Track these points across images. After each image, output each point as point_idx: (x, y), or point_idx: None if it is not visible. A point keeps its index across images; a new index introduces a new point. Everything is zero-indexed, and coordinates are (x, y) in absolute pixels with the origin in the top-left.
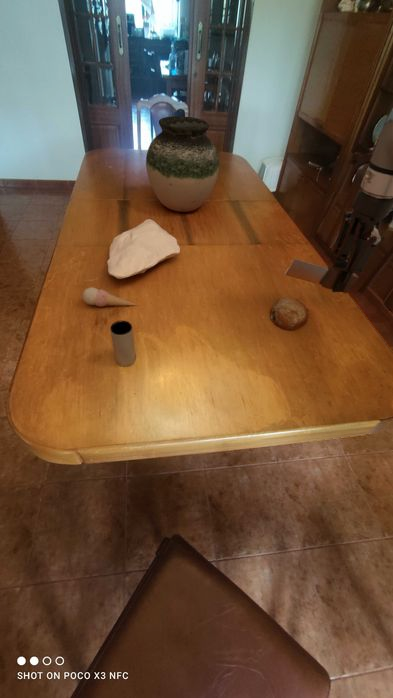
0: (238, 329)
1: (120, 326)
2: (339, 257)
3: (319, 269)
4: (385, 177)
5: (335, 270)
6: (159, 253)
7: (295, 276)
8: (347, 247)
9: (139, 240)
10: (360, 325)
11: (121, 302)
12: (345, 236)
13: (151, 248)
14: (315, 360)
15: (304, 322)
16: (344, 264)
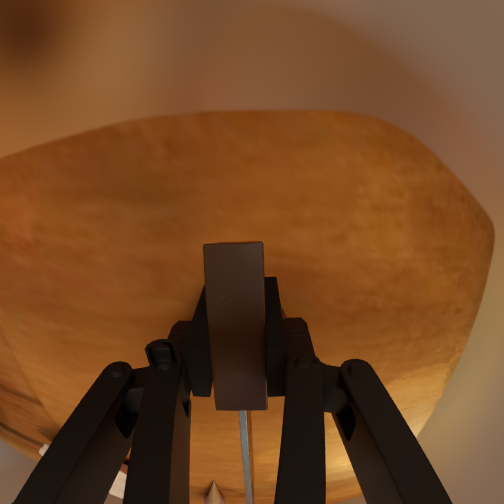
0: (273, 412)
1: None
2: (190, 408)
3: (249, 441)
4: None
5: (263, 404)
6: (118, 477)
7: (253, 458)
8: (184, 459)
9: (110, 492)
10: (285, 127)
11: (217, 493)
12: (94, 471)
13: (116, 485)
14: (384, 307)
15: (285, 317)
16: (204, 353)
